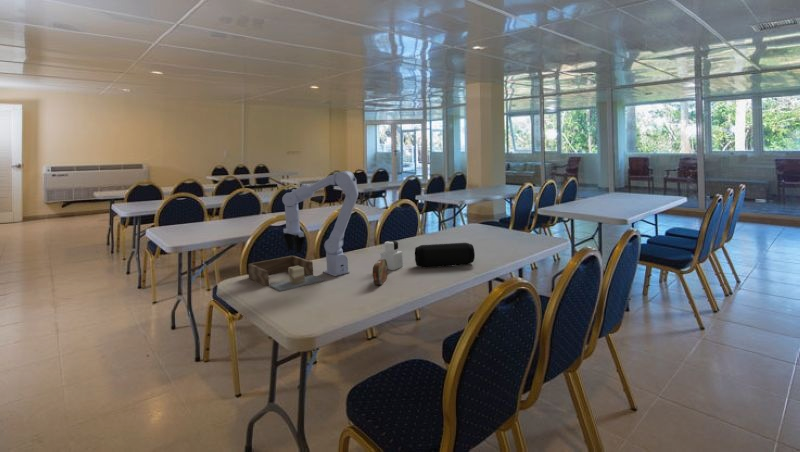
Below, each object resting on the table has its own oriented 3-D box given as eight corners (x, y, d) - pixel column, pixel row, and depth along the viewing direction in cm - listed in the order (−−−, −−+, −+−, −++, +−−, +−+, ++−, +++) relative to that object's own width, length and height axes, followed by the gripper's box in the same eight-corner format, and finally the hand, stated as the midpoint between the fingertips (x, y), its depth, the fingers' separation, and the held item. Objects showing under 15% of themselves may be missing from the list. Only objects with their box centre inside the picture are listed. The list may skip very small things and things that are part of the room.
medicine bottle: (390, 264, 199) (389, 239, 197) (403, 266, 195) (402, 240, 193) (380, 268, 194) (379, 242, 192) (393, 270, 190) (393, 243, 188)
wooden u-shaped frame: (313, 275, 185) (312, 261, 184) (266, 286, 171) (265, 271, 170) (294, 268, 197) (293, 255, 196) (248, 277, 184) (247, 263, 183)
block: (304, 282, 174) (303, 267, 173) (294, 284, 171) (293, 269, 170) (299, 279, 177) (298, 265, 176) (289, 282, 174) (288, 267, 173)
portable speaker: (468, 261, 203) (468, 240, 201) (475, 266, 193) (475, 244, 191) (414, 264, 199) (414, 243, 197) (418, 270, 189) (418, 248, 188)
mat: (323, 280, 177) (323, 279, 177) (280, 291, 164) (280, 289, 164) (312, 276, 183) (312, 275, 183) (269, 286, 171) (269, 284, 171)
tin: (379, 287, 166) (379, 266, 165) (371, 287, 167) (371, 266, 165) (388, 276, 181) (388, 256, 179) (381, 276, 181) (380, 256, 180)
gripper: (276, 219, 190) (278, 250, 192) (292, 223, 179) (294, 255, 181) (291, 217, 194) (293, 247, 197) (307, 221, 184) (309, 252, 186)
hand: (294, 251), depth 189 cm, fingers open, 7 cm apart
